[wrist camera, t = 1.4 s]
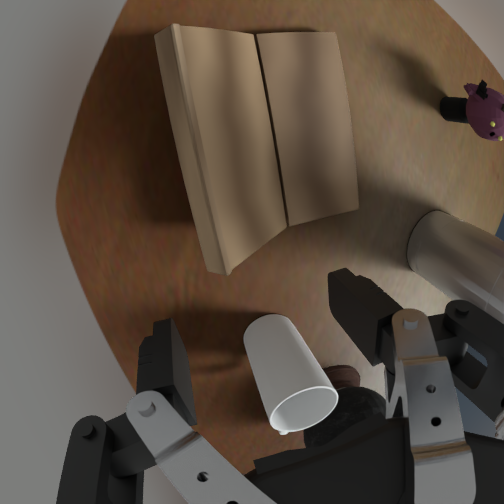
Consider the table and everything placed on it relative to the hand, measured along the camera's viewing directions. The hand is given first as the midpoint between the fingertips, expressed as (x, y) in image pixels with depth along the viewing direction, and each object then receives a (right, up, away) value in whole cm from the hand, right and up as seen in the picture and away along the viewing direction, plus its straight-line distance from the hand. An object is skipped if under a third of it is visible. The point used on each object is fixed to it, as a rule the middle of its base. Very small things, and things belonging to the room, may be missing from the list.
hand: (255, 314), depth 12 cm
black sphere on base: (+11, -19, +31) cm, 38 cm away
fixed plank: (+5, +15, +15) cm, 21 cm away
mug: (+1, -9, +24) cm, 26 cm away
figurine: (+25, +21, +18) cm, 37 cm away
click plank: (-2, +11, +11) cm, 16 cm away
